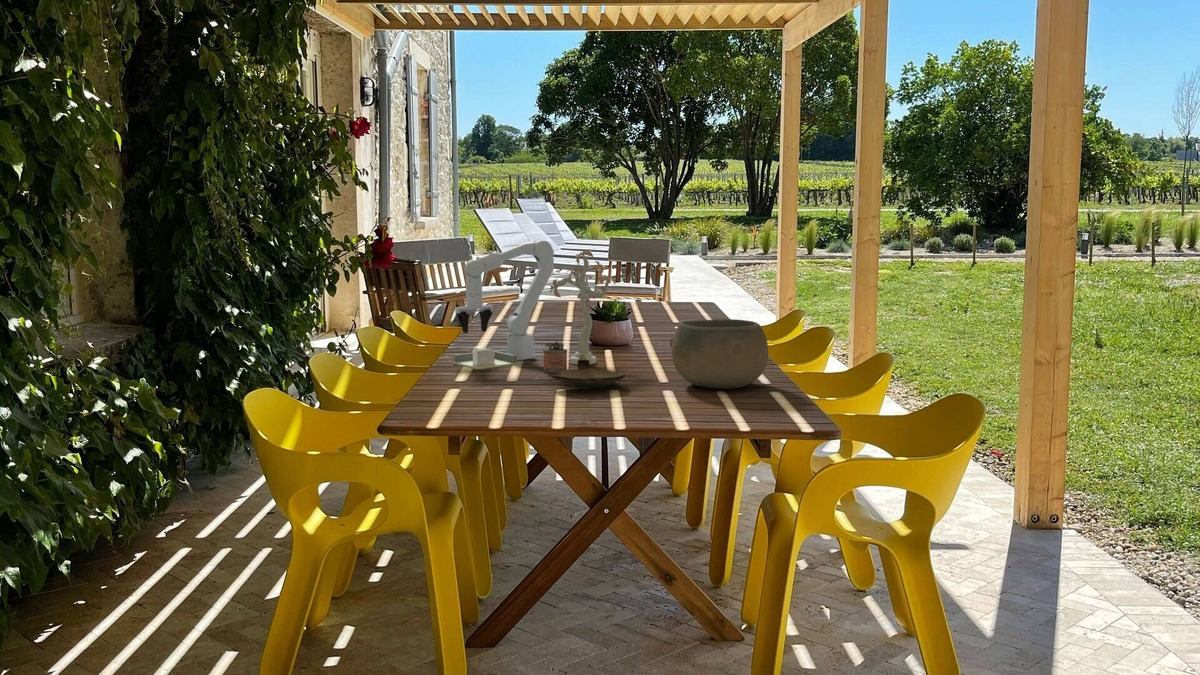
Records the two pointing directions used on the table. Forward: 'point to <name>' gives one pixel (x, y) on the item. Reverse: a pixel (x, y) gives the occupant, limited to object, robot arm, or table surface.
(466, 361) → the arena
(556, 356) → the lighter
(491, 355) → the bracket
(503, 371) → the table surface
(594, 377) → the oil lamp
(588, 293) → the white tree stand
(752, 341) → the clay pot
